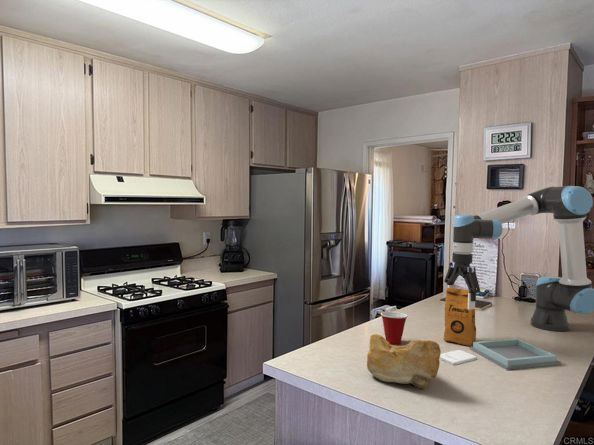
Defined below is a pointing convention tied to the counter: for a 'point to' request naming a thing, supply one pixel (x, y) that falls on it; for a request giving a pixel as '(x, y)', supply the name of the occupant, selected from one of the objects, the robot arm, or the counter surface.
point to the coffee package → (459, 318)
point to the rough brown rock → (403, 361)
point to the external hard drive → (457, 357)
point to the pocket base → (514, 354)
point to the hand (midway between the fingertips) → (460, 304)
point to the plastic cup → (393, 326)
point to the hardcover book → (478, 304)
